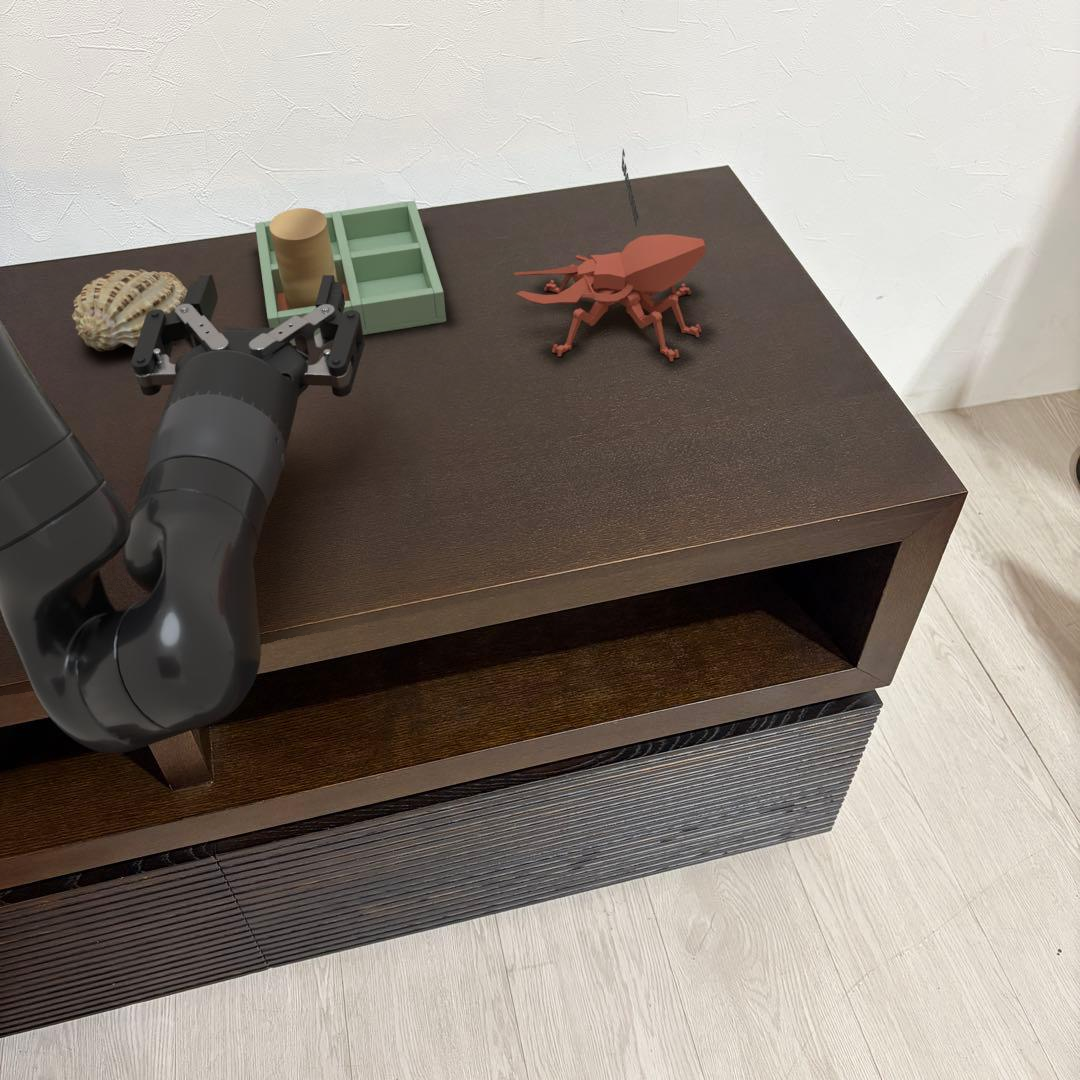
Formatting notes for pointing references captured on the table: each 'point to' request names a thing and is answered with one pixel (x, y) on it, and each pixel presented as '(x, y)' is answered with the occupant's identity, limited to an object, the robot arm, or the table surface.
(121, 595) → the table surface
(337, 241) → the grid
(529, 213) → the table surface
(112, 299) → the seashell
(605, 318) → the table surface
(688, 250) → the beetle
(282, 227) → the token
